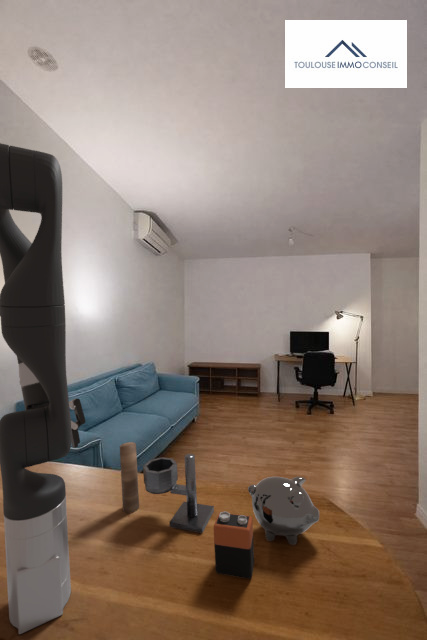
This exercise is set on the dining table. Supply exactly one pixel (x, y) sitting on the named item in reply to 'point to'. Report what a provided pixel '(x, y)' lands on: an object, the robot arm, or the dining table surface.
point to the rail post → (129, 477)
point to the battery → (234, 545)
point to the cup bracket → (178, 491)
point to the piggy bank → (283, 507)
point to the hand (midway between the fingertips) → (54, 454)
